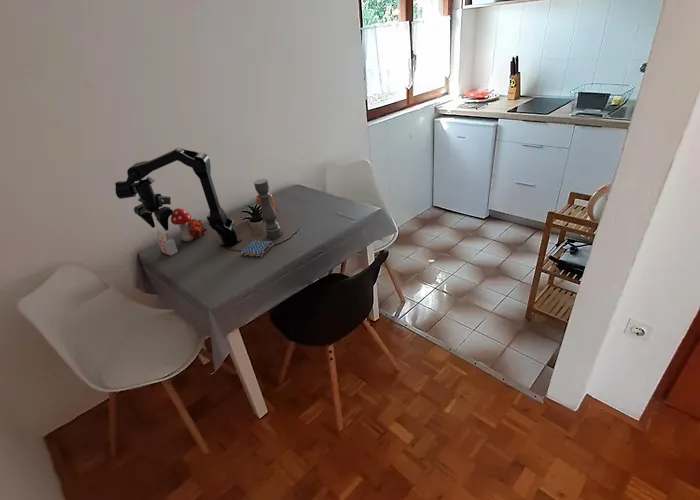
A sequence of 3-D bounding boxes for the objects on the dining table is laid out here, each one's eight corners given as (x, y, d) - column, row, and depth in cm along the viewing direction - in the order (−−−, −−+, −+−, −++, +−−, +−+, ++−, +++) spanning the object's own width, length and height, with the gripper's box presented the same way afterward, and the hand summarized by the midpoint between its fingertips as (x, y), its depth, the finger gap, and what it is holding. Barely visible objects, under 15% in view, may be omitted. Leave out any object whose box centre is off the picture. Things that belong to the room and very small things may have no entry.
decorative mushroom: (202, 237, 190) (191, 207, 182) (185, 245, 185) (173, 215, 177) (191, 232, 196) (181, 203, 189) (174, 240, 191) (163, 210, 184)
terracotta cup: (279, 210, 205) (275, 193, 201) (268, 217, 200) (264, 199, 195) (267, 208, 210) (262, 191, 205) (256, 215, 204) (251, 198, 199)
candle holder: (268, 233, 184) (254, 180, 172) (281, 230, 184) (268, 177, 172) (266, 239, 179) (252, 185, 167) (281, 237, 179) (267, 182, 167)
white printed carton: (169, 248, 184) (161, 228, 179) (178, 251, 180) (170, 231, 176) (162, 252, 182) (154, 232, 177) (170, 255, 178) (162, 235, 173)
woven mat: (262, 257, 165) (260, 253, 164) (240, 256, 169) (238, 251, 168) (274, 244, 174) (273, 240, 173) (253, 243, 178) (252, 239, 177)
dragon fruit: (197, 233, 199) (203, 245, 190) (179, 229, 193) (185, 241, 185) (204, 217, 196) (210, 229, 188) (186, 213, 191) (192, 225, 182)
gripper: (177, 189, 169) (189, 223, 177) (150, 185, 178) (162, 217, 186) (154, 200, 161) (168, 235, 169) (126, 195, 171) (141, 229, 178)
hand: (160, 228), depth 176 cm, fingers open, 9 cm apart
